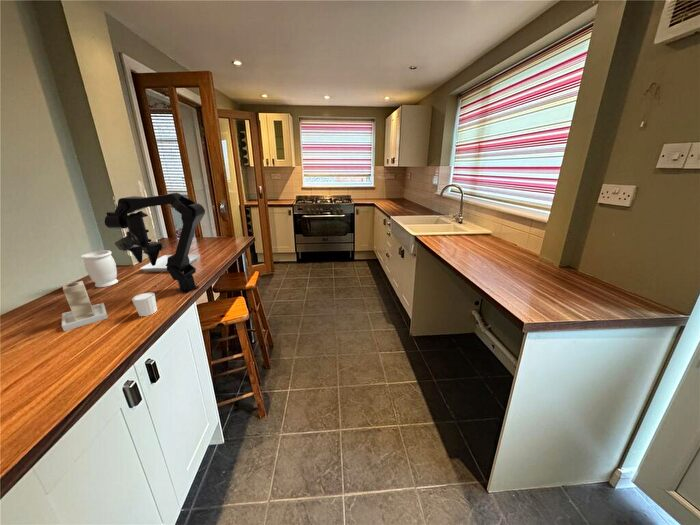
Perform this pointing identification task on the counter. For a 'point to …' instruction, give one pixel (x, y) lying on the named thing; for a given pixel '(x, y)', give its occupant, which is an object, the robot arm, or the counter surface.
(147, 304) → the shot glass
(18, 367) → the counter surface
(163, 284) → the counter surface
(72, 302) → the beech block
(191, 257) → the salad plate
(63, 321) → the tray
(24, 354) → the counter surface
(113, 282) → the jar
